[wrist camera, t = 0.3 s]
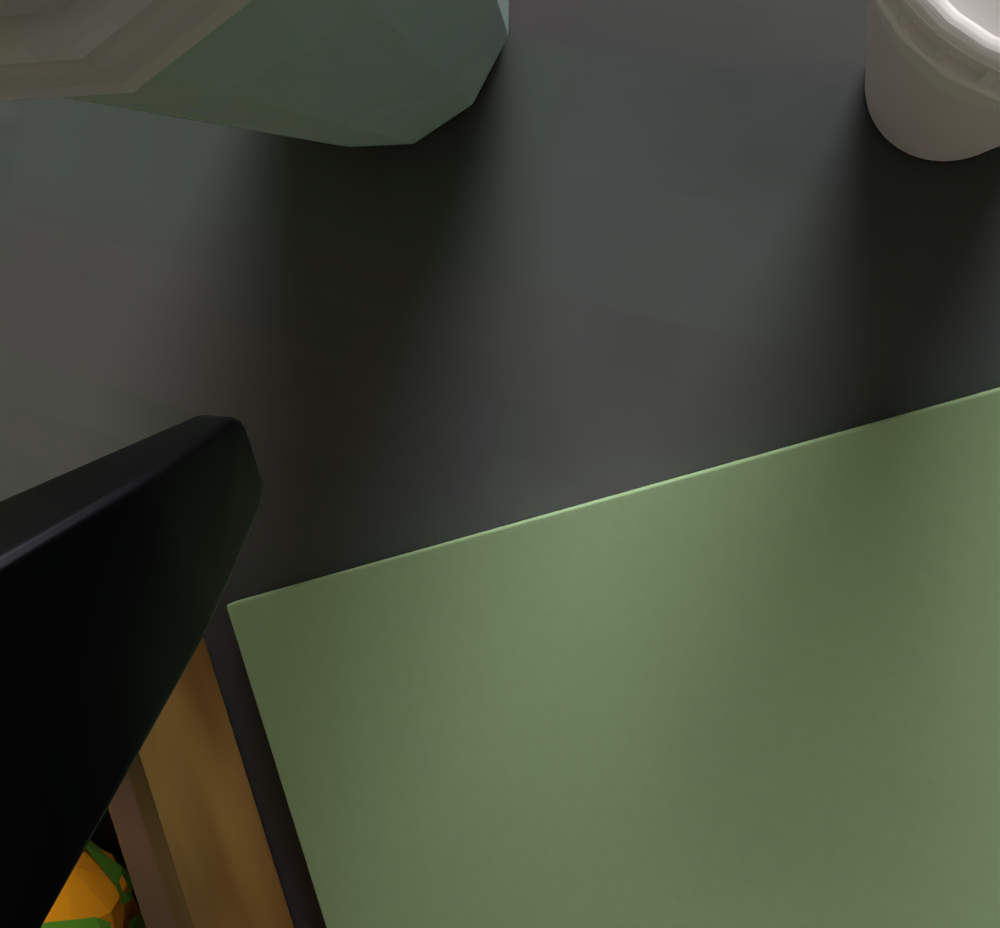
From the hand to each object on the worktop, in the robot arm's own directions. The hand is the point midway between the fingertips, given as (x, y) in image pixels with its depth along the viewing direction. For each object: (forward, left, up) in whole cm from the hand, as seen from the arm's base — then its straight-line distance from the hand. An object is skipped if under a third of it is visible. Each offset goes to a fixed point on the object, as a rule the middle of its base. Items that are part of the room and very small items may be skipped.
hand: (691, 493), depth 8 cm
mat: (-9, +2, -15) cm, 17 cm away
